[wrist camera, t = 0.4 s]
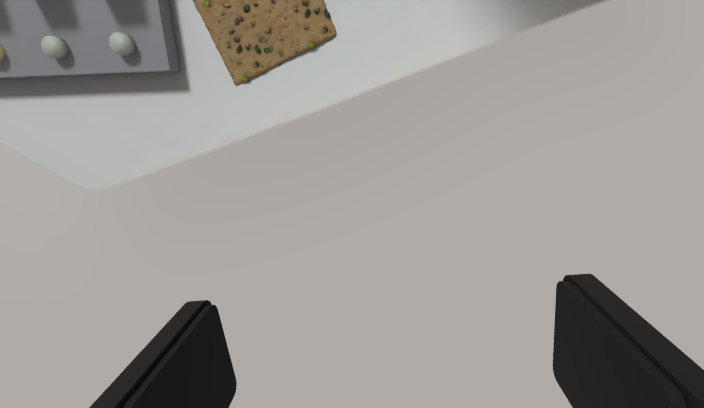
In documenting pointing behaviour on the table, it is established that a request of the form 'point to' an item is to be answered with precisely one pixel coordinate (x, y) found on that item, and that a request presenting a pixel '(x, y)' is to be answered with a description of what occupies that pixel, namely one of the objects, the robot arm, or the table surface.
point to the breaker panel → (85, 38)
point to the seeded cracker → (264, 32)
